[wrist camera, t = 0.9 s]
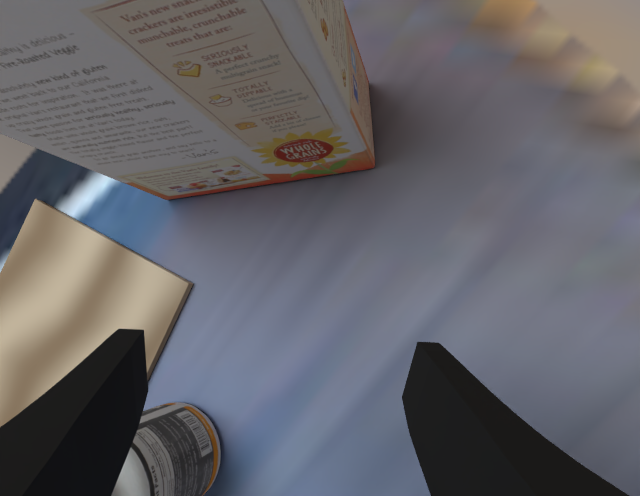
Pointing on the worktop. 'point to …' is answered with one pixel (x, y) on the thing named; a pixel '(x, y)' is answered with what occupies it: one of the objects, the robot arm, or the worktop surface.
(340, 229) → the worktop surface
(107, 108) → the cracker box
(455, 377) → the robot arm
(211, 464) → the pill bottle
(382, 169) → the worktop surface
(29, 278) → the beige flat rectangular panel
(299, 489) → the worktop surface
